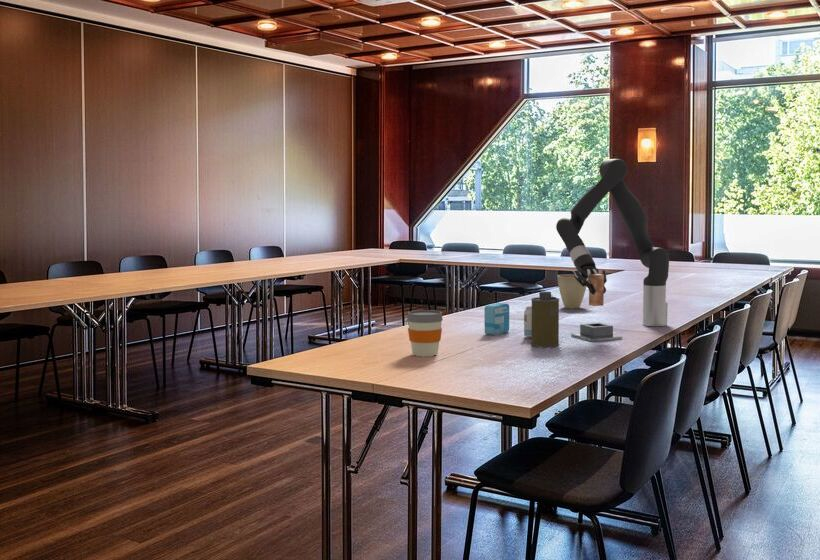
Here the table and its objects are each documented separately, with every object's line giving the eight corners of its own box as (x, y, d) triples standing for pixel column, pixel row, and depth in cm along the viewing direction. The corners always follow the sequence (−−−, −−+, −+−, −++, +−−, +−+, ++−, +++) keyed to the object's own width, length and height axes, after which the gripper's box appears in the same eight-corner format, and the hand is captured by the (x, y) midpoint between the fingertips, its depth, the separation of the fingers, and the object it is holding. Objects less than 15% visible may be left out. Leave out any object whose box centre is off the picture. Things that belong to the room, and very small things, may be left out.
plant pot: (557, 309, 409) (557, 277, 407) (556, 305, 423) (556, 274, 422) (588, 309, 407) (589, 277, 405) (586, 305, 421) (586, 274, 420)
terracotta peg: (597, 304, 329) (597, 273, 327) (603, 305, 325) (603, 274, 324) (588, 304, 327) (589, 274, 326) (594, 306, 324) (595, 275, 322)
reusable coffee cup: (420, 349, 306) (420, 309, 304) (449, 353, 299) (449, 311, 297) (400, 355, 296) (399, 313, 294) (430, 359, 288) (429, 315, 287)
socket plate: (601, 333, 336) (601, 321, 336) (622, 339, 323) (622, 326, 323) (571, 336, 331) (571, 323, 331) (591, 341, 318) (591, 328, 318)
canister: (549, 348, 305) (549, 294, 304) (525, 345, 313) (525, 292, 311) (565, 344, 313) (565, 291, 311) (541, 341, 320) (542, 289, 318)
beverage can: (541, 339, 325) (541, 308, 324) (523, 338, 327) (523, 308, 325) (542, 336, 332) (542, 306, 331) (524, 336, 333) (524, 306, 332)
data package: (493, 336, 334) (493, 306, 333) (484, 335, 337) (484, 305, 336) (509, 332, 343) (509, 303, 342) (500, 331, 346) (500, 302, 345)
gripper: (570, 253, 328) (587, 287, 318) (601, 252, 334) (619, 285, 324) (563, 266, 334) (579, 299, 324) (593, 265, 339) (610, 298, 329)
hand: (599, 292), depth 324 cm, fingers closed on terracotta peg, 4 cm apart
